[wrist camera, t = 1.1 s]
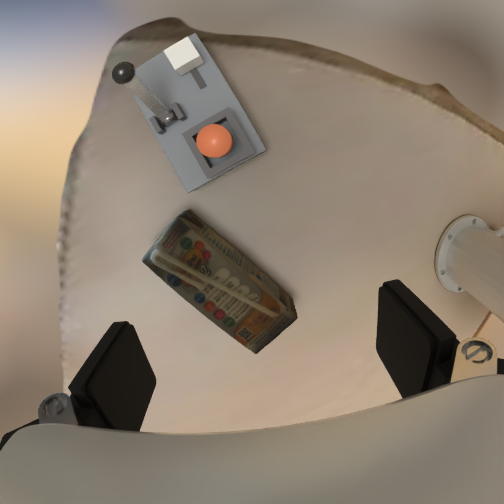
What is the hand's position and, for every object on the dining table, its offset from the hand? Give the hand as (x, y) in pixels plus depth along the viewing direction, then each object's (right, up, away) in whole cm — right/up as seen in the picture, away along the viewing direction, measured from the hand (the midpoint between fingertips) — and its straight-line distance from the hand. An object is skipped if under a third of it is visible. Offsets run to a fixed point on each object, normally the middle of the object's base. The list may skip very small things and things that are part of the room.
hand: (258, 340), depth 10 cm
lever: (-9, +18, +18) cm, 27 cm away
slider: (-8, +25, +17) cm, 31 cm away
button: (-4, +14, +18) cm, 23 cm away
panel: (-7, +20, +23) cm, 31 cm away
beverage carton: (-4, 0, +29) cm, 30 cm away
